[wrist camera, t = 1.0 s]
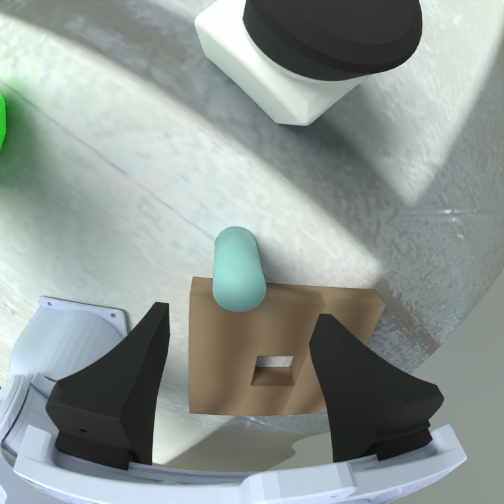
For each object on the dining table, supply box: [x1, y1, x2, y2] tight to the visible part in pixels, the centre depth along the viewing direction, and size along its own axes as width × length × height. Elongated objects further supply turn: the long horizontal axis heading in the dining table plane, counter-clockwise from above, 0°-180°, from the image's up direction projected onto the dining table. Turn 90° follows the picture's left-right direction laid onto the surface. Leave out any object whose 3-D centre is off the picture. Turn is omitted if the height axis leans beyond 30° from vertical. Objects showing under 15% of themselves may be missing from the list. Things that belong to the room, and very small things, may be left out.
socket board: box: [189, 277, 386, 416], centre depth 25 cm, size 16×16×2 cm
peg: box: [213, 227, 266, 312], centre depth 19 cm, size 3×3×6 cm
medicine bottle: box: [195, 0, 422, 126], centre depth 10 cm, size 7×7×12 cm
